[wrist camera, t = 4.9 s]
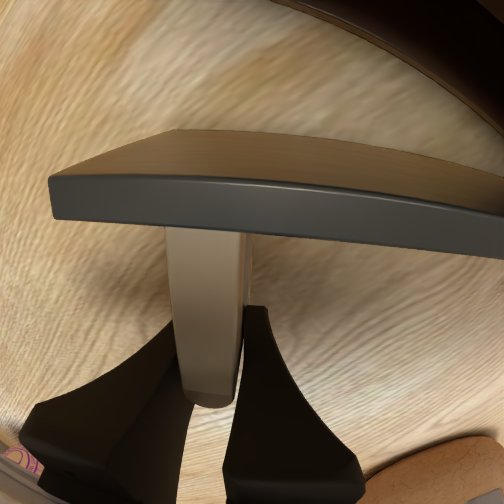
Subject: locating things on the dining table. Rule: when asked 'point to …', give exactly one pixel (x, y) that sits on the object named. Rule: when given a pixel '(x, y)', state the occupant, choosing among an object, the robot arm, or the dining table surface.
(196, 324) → the cabinet door
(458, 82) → the cabinet
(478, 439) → the potted plant
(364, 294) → the dining table surface
